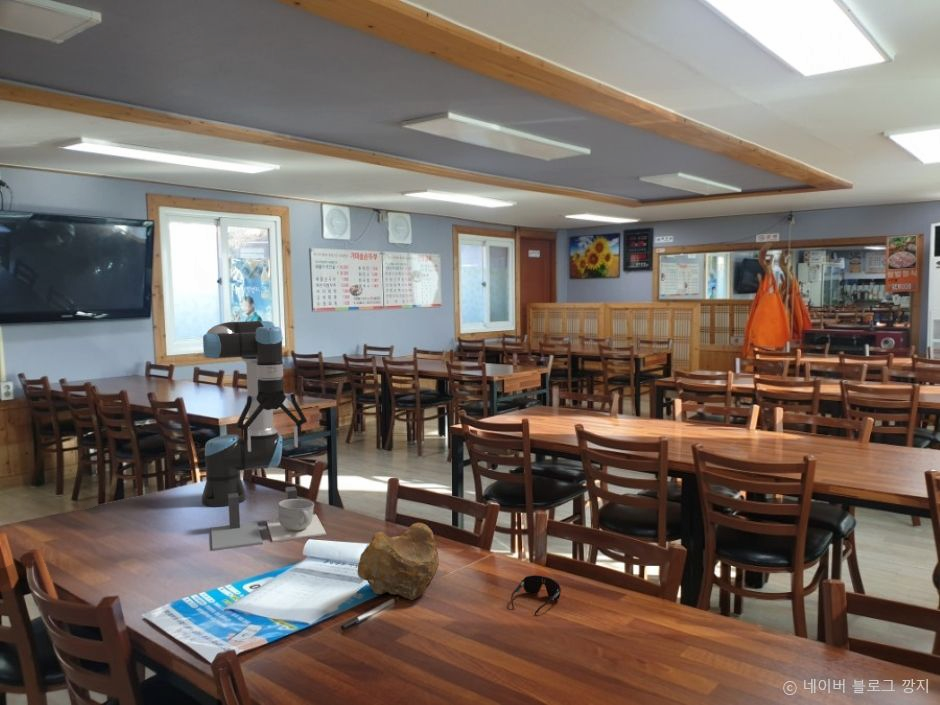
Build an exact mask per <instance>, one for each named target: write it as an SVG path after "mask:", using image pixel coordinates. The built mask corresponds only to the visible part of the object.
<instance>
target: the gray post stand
mask: <svg viewBox="0 0 940 705" xmlns="http://www.w3.org/2000/svg"><path fill="white" fill-rule="evenodd" d="M227 506H228V524H229V525H221V526H214V527H210V530H211V533H210V534H211V547H212V551H218V550H226V549H227V550H228V549H233V548H234V549H235V548H241V547H248V546H250V547H251V546H256V545H263V539H262V535H261V532H260V528H259V524H258V521H253V522H244V523H241V521H240V503H239V496H238V493H232V494H228V505H227Z"/></svg>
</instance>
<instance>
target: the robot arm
mask: <svg viewBox="0 0 940 705" xmlns="http://www.w3.org/2000/svg"><path fill="white" fill-rule="evenodd" d="M282 333H283V332H282V329H281V327H280V326H275V324H274V322H273V321H270V320H269V321H267V320H251V321H250V320H248V321H228V322H223V323H220V324H217V325H214V326H212V327H211V328H210V329H208V330H207V332H206V333H205V334H204V335H203V336H202V343H203V345H202V347H203V348H202V349H203V357H204V358H205V359H212V360H213V359H214V360H215V359H216V360H217V359H227V358H241V360H242V361H243V362H244V363H246V364H245V366H246V387H247V388H246V390H247V397H246V403H245V406H244V408H243V410H242V412H241V414H240V416H239V418H238V420H237V422H236V428H238V429H241V430H242V435H243V438H240V436H239V435H238V434H225V435H224V434H223V435H220V436H216V437H213V438H211V439H209V440H207V442H205V445H204V456H205V479H206V481H205V485H204V488H203V492H202V495H201V503H202V504H203V505H204V506H208V507H225V506H229V505H228V494H232V493H238V496H239V504H240V503H242V502H245V501H246V499H247V493H246V492H247V491H246V490H245V487H244V484H243V481H242V479H241V471H247V470H248V471H249V470H261V469H270V468H275V467H278V466H279V465H280V464H281V460H282V453H283V436H282V435H280V434H278V432H279V431H278V430H277V429H276V428H275V427H274V418H273V417H274V415H273V414H274V413H273V412H274V410H275V411H276V410H278V409H281V410H282V411H283V412H285V414H286V415H287V416H288V417H289V418H290V419H291V420H292V422H294V424H293V444H294V445H293V446H294V447H295V448H299V440H298V438H299V437H300V436H302V425H303V424H306V423H307V422H308V420H307V418H306V416H305V414H304V413H303V411H302V409H301V408H300V407H301V406H299V404H298V402H297V400H296V395H295V393H294V392H290V393H287V394H285V386H284V385H285V384H284V379H283V377H284V361H283V360H284V359H283V334H282ZM286 399H287V400H288V401H289V402H291V404H292V406H293V407H294V409H295V411H296V413H297V414H298V417H299V418H300V419H298V417H296V415H294V414H293V412H292V411H291V410H290V409H289V408H288V407H287V406H286V405H285V404H284V402H285V401H286ZM247 415H248V416H247ZM247 417H248V419H247V420H246V421H245V419H246V418H247ZM244 422H245V423H244Z"/></svg>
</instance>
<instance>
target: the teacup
mask: <svg viewBox="0 0 940 705" xmlns="http://www.w3.org/2000/svg"><path fill="white" fill-rule="evenodd" d="M314 507H315V502H313V501H312V500H309V499H304V498H297V499H287V500H286V499H283V500H280V501H279V502H278V519H279V522H280V524H281V525H282V526H283V527H284V528H285V529H287V530H303V529H305V528H306V527H307V526H309V525H310V524H311V522H312V518H313V515H314Z"/></svg>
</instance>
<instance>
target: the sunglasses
mask: <svg viewBox="0 0 940 705" xmlns="http://www.w3.org/2000/svg"><path fill="white" fill-rule="evenodd" d="M543 585H544V587H545V591H546V594H547V596H548V597H549V596H551V597H549V598H550V599H549V600H548V601H546V602H544V604H542V605H540V606H539V607H538V608H537V609H536V611H535V612H534V613H535V614H536V613H537V614H538V613H539V611H540V610H541V609H542V608H543V607H545V606H546V605H548V604H549V603H550V602H551V601H555V600H559V599H560V597H561V593H562V591H561V590H562V589H561V585H560V584H559V583H558V582H557V581H556V580H554V579H553V578H551V577H548V576H545V575H538V574H533V575H528V576H525V577H524V578H523V579H522V580H521V582H520V583H519V584H518V586H517V587H516V588H515V589H514V591H513V592H512V594H511V596H510V597H511V598H510V599H511V600H510V601H511V606H512V610H513V609H514V610H515V607H514V602H513V597H514V596H515V593H518V592H519V591H520V589H522V587H523V590H524V591H525V592H526V593H528V592H529V593H528V594H533V593H537V594H539V592H540V590H541V588H542V586H543ZM555 598H556V599H555Z"/></svg>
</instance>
